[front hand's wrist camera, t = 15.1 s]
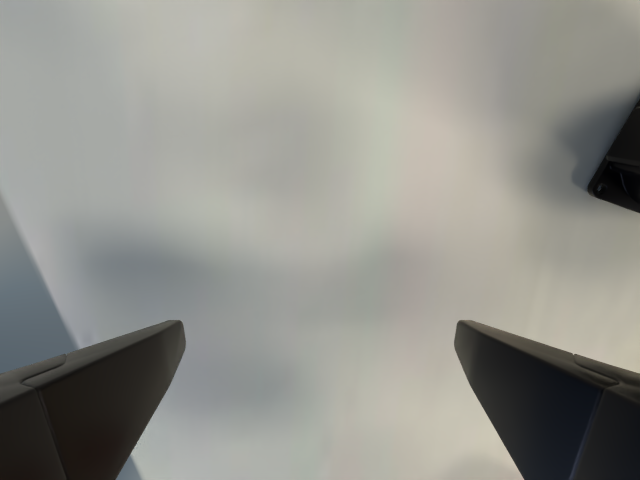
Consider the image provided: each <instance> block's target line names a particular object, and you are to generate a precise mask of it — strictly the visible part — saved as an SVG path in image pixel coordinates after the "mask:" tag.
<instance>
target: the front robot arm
mask: <svg viewBox="0 0 640 480" xmlns="http://www.w3.org/2000/svg"><path fill="white" fill-rule="evenodd" d="M600 185H601V186H602V187H601V189H600V190H599V191H597V189H598V187H599V186H600ZM587 191H588V193H589V195H591V196H593V197H596V198H599V199H602V200H604V201H607V202H610V203H613V204H616V205H618V206H621V207H624V208H627V209H630V210H632V211H635V212H638V213H640V99H639V101H638V103H637V104H636V106H635V108H634V109H633V111H632V113H631V114H630V116H629V118H628V119H627V121H626V123H625V124H624V126H623V128H622V129H621V131H620V133H619V135H618V136H617V138H616V140H615V141H614V143H613V145H612V146H611V148H610V150H609V151H608V153H607V155H606V156H605V158H604V160H603V161H602V163H601V165H600V167H599V168H598V170H597V172H596V173H595V175H594V177H593V178H592V180H591V182H590V183H589V185H588V188H587ZM185 347H186V340H185V334H184V327H183V323H182V321H180V320H168V321H165V322H162V323H159V324H156V325H153V326H150V327H147V328H144V329H141V330H138V331H135V332H132V333H129V334H125V335H122V336H119V337H116V338H113V339H110V340H107V341H104V342H101V343H98V344H95V345H92V346H89V347H86V348H83V349H80V350H76V351H73V352H70V353H68V354H67V355H66V354H63V355H60V356H57V357H54V358H51V359H47V360H44V361H41V362H38V363H35V364H31V365H28V366H25V367H21V368H18V369H15V370H11V371H8V372H4V373H1V374H0V480H116V478H117V476H118V475H119V473H120V471H121V469H122V468H123V466H124V464H125V462H126V461H127V459H128V457H129V456H130V454H131V452H132V450H133V449H134V447H135V445H136V443H137V442H138V440H139V438H140V436H141V435H142V433H143V431H144V429H145V428H146V426H147V424H148V422H149V421H150V419H151V417H152V416H153V414H154V412H155V410H156V409H157V407H158V405H159V403H160V402H161V400H162V398H163V396H164V395H165V393H166V391H167V389H168V388H169V386H170V384H171V382H172V379H173V377H174V375H175V372H176V370H177V367H178V365H179V363H180V360H181V358H182V355H183V353H184V351H185ZM454 347H455V351H456V353H457V355H458V358H459V360H460V363H461V365H462V367H463V370H464V372H465V375H466V377H467V379H468V382H469V384H470V386H471V388H472V389H473V391H474V393H475V395H476V396H477V398H478V400H479V402H480V403H481V405H482V407H483V409H484V410H485V412H486V414H487V416H488V417H489V419H490V421H491V422H492V424H493V426H494V428H495V429H496V431H497V433H498V435H499V436H500V438H501V440H502V442H503V443H504V445H505V447H506V449H507V450H508V452H509V454H510V456H511V457H512V459H513V461H514V463H515V464H516V466H517V468H518V469H519V471H520V473H521V475H522V476H523V478H524V480H640V374H639V373H636V372H632V371H629V370H625V369H622V368H619V367H615V366H612V365H609V364H606V363H602V362H599V361H596V360H593V359H590V358H586V357H583V356H580V355H577V354H574V355H573V354H572V353H570V352H567V351H564V350H560V349H557V348H554V347H551V346H548V345H545V344H542V343H539V342H536V341H533V340H530V339H527V338H524V337H521V336H518V335H515V334H511V333H508V332H505V331H502V330H499V329H496V328H493V327H490V326H487V325H484V324H481V323H478V322H475V321H472V320H460V321H458V323H457V327H456V334H455V340H454Z"/></svg>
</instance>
